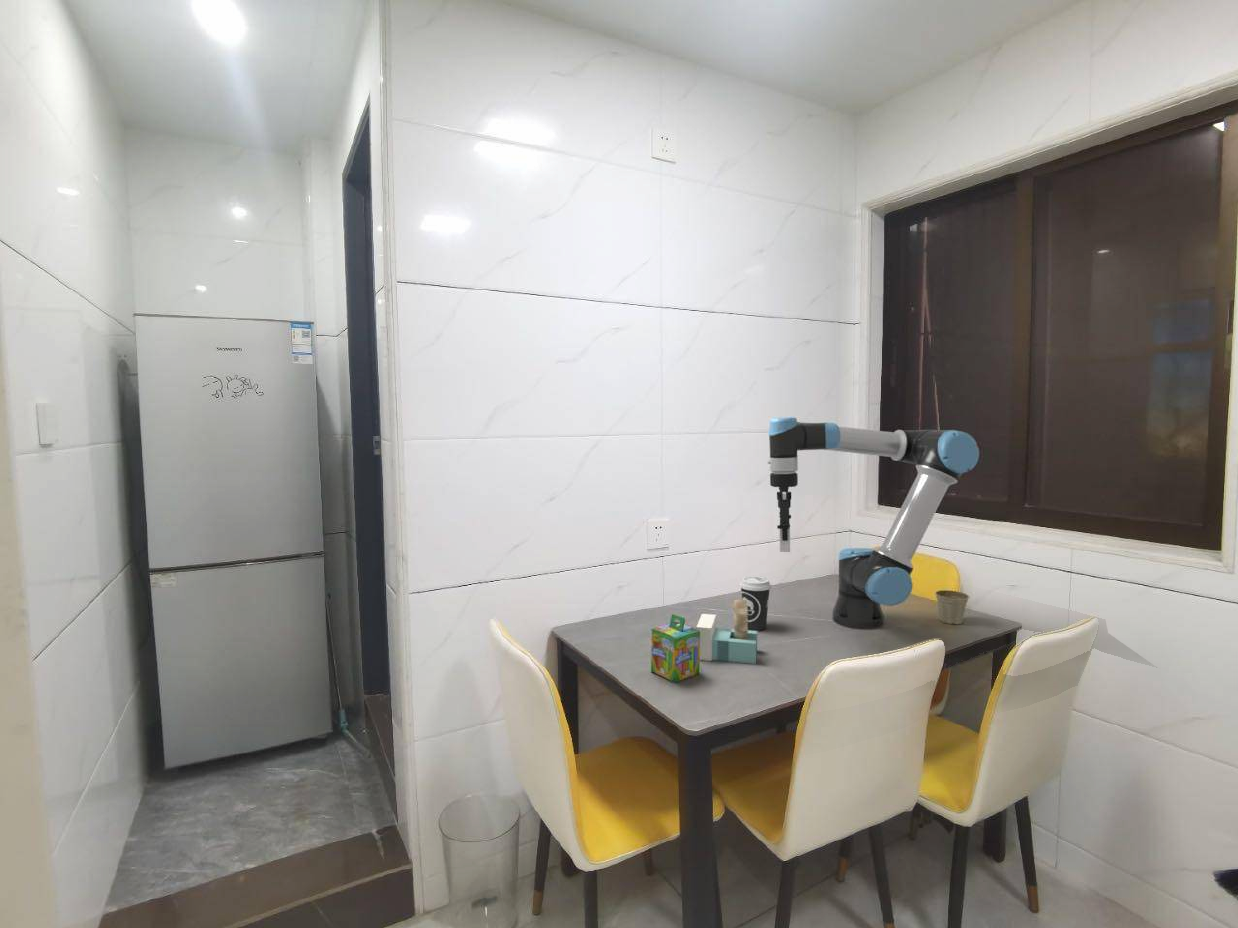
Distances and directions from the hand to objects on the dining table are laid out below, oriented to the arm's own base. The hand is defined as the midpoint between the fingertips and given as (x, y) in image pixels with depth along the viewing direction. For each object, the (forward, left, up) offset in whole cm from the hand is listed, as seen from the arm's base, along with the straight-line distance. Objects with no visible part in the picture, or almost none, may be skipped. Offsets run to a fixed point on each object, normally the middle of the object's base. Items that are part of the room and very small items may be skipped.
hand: (784, 546), depth 174 cm
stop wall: (+21, +13, -28) cm, 37 cm away
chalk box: (+27, +28, -28) cm, 48 cm away
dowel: (+11, +13, -28) cm, 33 cm away
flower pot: (-50, -29, -28) cm, 64 cm away
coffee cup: (+9, -10, -28) cm, 31 cm away
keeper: (+12, +13, -28) cm, 33 cm away
